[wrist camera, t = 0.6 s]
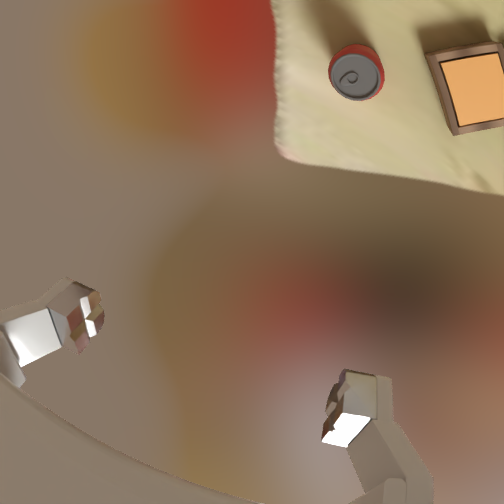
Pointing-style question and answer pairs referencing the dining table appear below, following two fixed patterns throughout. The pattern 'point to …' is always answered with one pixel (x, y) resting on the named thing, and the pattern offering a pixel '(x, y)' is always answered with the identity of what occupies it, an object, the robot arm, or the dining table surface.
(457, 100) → the orange square panel
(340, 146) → the dining table surface
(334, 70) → the beer can
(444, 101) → the checker stand
